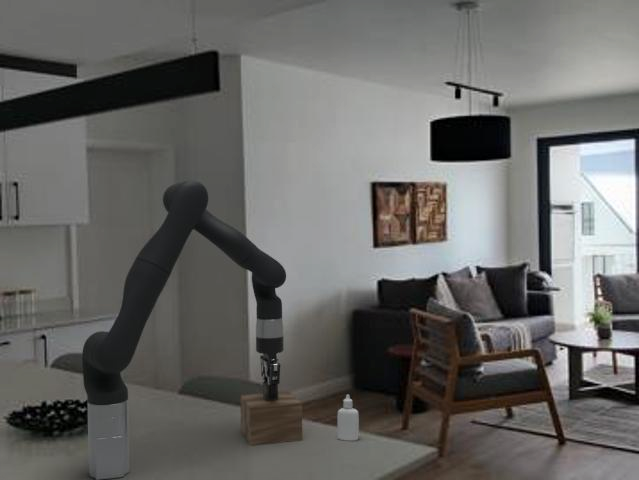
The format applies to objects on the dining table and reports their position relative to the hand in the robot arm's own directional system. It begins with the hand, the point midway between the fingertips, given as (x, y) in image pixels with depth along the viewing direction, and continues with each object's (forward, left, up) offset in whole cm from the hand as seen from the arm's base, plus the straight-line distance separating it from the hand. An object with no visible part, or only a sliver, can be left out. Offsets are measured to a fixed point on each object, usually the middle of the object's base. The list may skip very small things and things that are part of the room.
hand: (270, 396), depth 200 cm
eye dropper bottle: (-10, -19, -11) cm, 24 cm away
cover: (0, 0, -11) cm, 11 cm away
